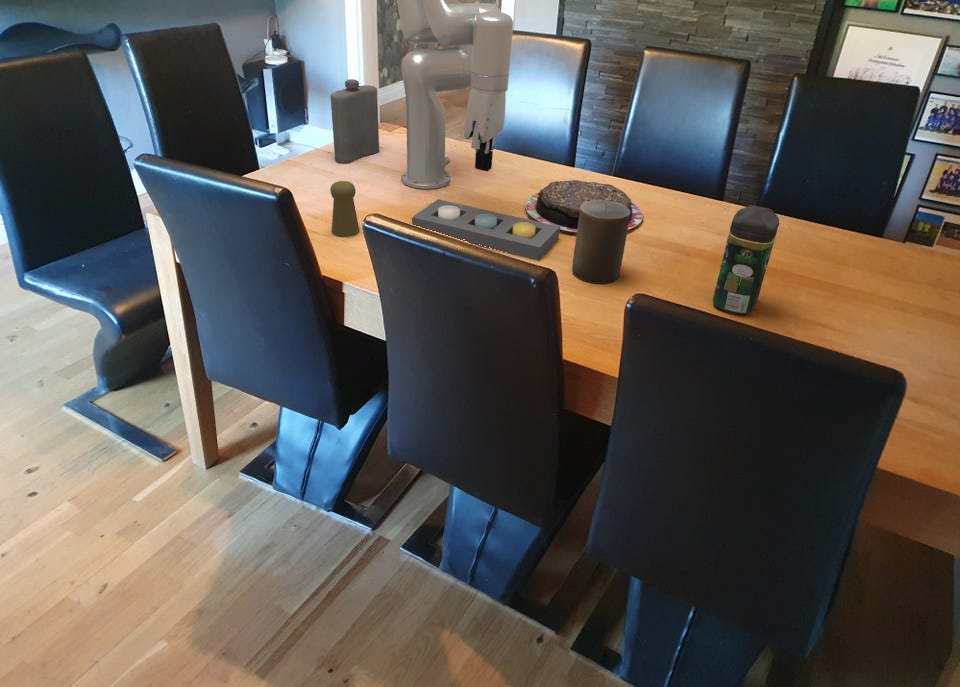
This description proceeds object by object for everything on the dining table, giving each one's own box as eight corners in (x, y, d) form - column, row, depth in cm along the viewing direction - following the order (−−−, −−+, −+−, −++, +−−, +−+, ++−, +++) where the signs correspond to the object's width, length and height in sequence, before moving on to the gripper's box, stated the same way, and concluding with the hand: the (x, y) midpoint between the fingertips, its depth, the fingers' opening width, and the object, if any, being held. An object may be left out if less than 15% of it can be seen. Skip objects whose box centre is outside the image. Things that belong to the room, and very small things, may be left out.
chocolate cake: (598, 186, 185) (602, 162, 182) (666, 228, 164) (672, 202, 161) (503, 200, 174) (505, 175, 171) (563, 247, 154) (567, 219, 150)
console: (437, 211, 166) (438, 199, 165) (558, 239, 156) (560, 226, 154) (412, 229, 157) (411, 217, 155) (538, 260, 147) (539, 247, 145)
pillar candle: (608, 289, 138) (620, 216, 130) (562, 274, 142) (572, 203, 134) (627, 270, 145) (640, 201, 137) (583, 257, 149) (593, 189, 141)
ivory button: (444, 217, 162) (444, 203, 160) (463, 222, 160) (463, 208, 158) (434, 225, 158) (434, 211, 156) (453, 229, 157) (453, 215, 155)
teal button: (480, 226, 159) (480, 211, 157) (499, 230, 157) (500, 216, 155) (470, 234, 155) (471, 219, 153) (490, 238, 154) (491, 224, 152)
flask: (367, 147, 203) (364, 74, 192) (382, 151, 200) (380, 77, 189) (329, 160, 192) (323, 83, 181) (344, 165, 190) (339, 87, 179)
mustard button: (517, 234, 156) (518, 220, 154) (537, 239, 154) (538, 225, 152) (508, 243, 152) (509, 228, 150) (529, 248, 151) (530, 233, 149)
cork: (354, 238, 152) (351, 189, 146) (327, 235, 153) (323, 186, 147) (363, 227, 157) (361, 179, 151) (337, 224, 158) (334, 176, 152)
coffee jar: (717, 287, 140) (740, 198, 130) (759, 298, 137) (785, 207, 127) (706, 309, 133) (730, 216, 123) (750, 320, 130) (777, 226, 120)
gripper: (488, 69, 148) (482, 154, 158) (455, 86, 136) (451, 176, 147) (521, 75, 145) (513, 161, 156) (490, 93, 134) (483, 185, 145)
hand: (483, 168), depth 152 cm, fingers closed
